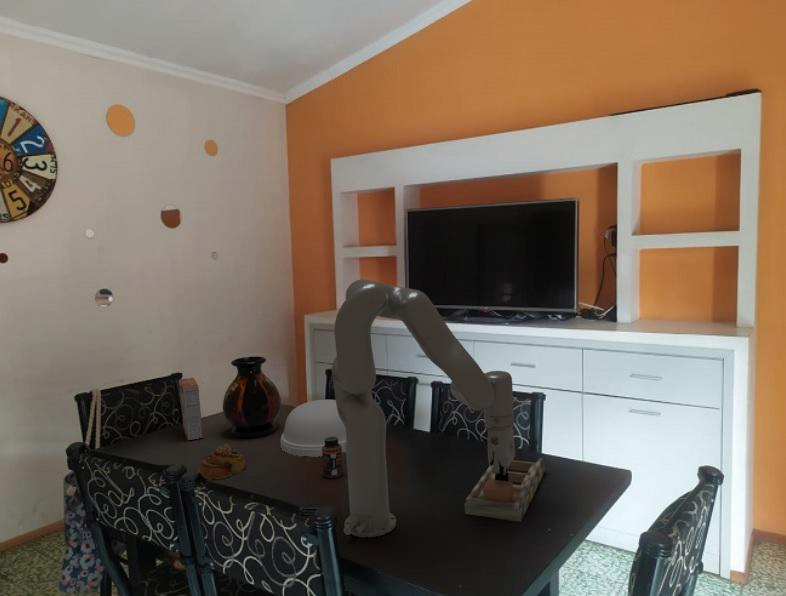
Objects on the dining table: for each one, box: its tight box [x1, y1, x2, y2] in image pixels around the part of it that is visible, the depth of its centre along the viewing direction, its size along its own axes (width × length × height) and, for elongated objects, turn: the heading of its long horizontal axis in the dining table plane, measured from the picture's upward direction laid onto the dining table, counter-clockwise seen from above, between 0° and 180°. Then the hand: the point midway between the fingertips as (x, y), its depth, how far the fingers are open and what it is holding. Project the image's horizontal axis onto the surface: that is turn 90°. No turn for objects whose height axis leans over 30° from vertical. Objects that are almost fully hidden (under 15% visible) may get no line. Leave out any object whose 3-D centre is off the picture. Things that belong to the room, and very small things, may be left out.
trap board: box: [464, 457, 546, 523], centre depth 159 cm, size 32×14×4 cm, turn 156°
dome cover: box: [280, 399, 346, 458], centre depth 207 cm, size 32×30×14 cm
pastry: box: [196, 443, 247, 481], centre depth 185 cm, size 13×15×8 cm
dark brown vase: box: [222, 355, 282, 439], centre depth 222 cm, size 22×22×28 cm
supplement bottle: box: [321, 437, 344, 479], centre depth 176 cm, size 6×6×11 cm
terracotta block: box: [483, 479, 514, 503], centre depth 148 cm, size 6×6×4 cm
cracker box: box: [178, 377, 204, 441], centre depth 222 cm, size 14×6×21 cm, turn 25°
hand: (502, 488), depth 153 cm, fingers closed
